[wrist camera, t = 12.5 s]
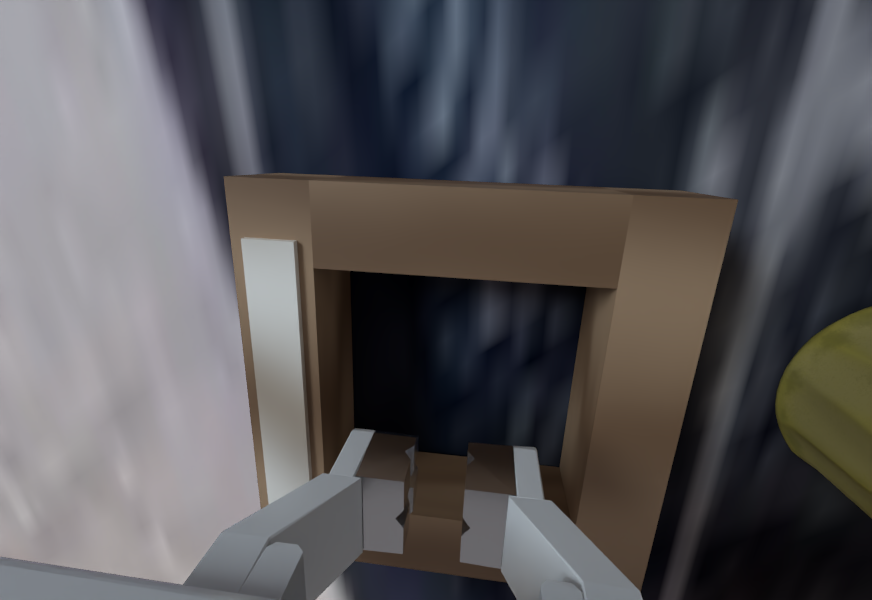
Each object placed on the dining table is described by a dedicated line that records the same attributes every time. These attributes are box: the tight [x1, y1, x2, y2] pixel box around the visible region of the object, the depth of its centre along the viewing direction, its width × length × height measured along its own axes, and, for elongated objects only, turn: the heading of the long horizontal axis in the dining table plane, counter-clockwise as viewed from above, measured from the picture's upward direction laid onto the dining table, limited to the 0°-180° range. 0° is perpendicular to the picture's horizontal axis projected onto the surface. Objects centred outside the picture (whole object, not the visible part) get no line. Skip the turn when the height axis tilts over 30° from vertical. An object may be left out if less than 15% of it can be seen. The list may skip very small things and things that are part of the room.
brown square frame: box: [224, 173, 738, 592], centre depth 13 cm, size 12×12×3 cm
